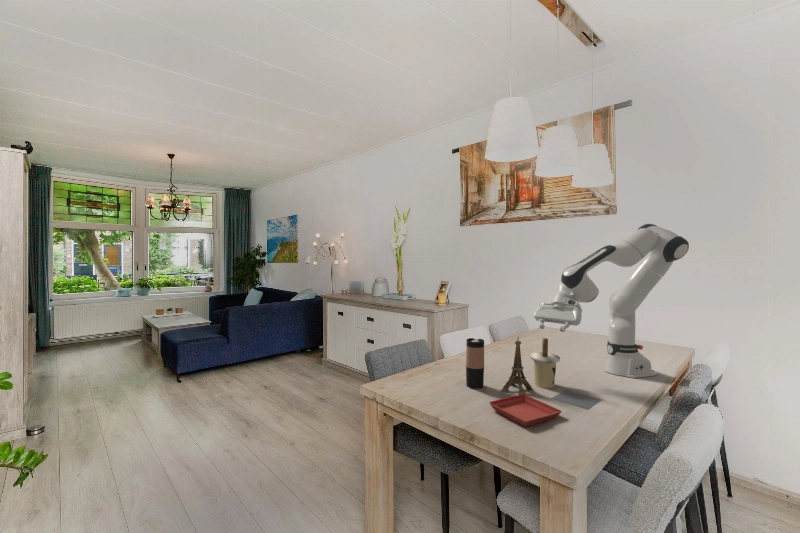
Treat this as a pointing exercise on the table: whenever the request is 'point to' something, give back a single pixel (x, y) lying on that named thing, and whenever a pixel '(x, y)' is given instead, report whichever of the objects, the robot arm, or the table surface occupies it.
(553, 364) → the coffee cup
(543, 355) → the lid
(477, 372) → the travel mug
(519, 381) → the eiffel tower
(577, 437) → the table surface
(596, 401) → the mat
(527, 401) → the plant saucer
